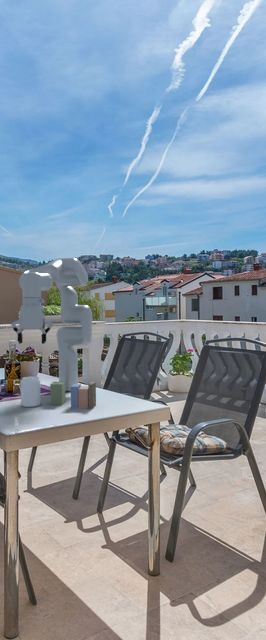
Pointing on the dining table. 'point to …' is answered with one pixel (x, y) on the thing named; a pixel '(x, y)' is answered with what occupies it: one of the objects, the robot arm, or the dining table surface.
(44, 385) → the dining table surface
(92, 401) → the walnut bookend
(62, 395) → the olive book
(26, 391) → the beverage can
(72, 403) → the blue book
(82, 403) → the terracotta book
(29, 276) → the robot arm
